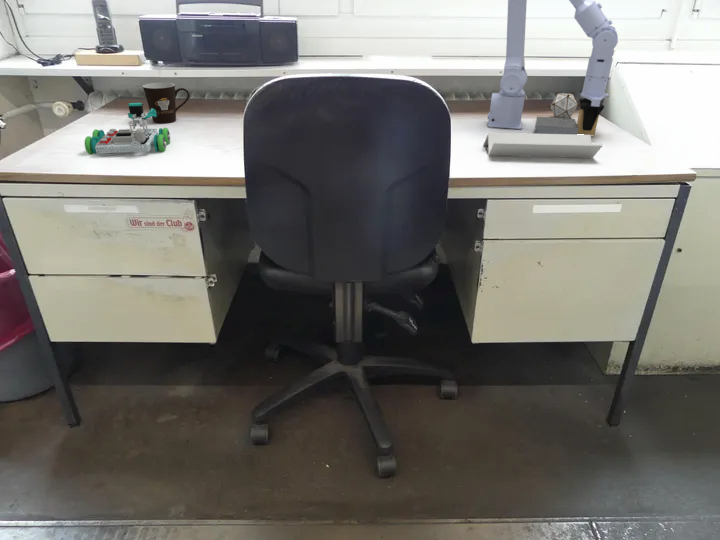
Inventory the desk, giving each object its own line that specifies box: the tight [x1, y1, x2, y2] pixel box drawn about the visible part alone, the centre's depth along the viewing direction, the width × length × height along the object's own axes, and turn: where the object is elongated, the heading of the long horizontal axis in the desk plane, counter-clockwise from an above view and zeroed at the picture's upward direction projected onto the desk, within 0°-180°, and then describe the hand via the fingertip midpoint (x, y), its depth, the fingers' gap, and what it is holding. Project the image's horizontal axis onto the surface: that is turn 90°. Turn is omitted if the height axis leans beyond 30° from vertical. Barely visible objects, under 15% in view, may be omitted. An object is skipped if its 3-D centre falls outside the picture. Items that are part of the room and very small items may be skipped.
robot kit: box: [84, 102, 172, 155], centre depth 134 cm, size 19×25×9 cm
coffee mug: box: [142, 82, 190, 125], centre depth 153 cm, size 12×9×10 cm
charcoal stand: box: [534, 116, 578, 135], centre depth 144 cm, size 10×10×4 cm
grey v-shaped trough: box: [483, 132, 603, 159], centre depth 131 cm, size 12×25×6 cm
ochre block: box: [576, 108, 600, 136], centre depth 147 cm, size 4×4×6 cm
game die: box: [547, 90, 580, 119], centre depth 161 cm, size 9×8×10 cm
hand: (585, 127), depth 148 cm, fingers closed on ochre block, 4 cm apart
